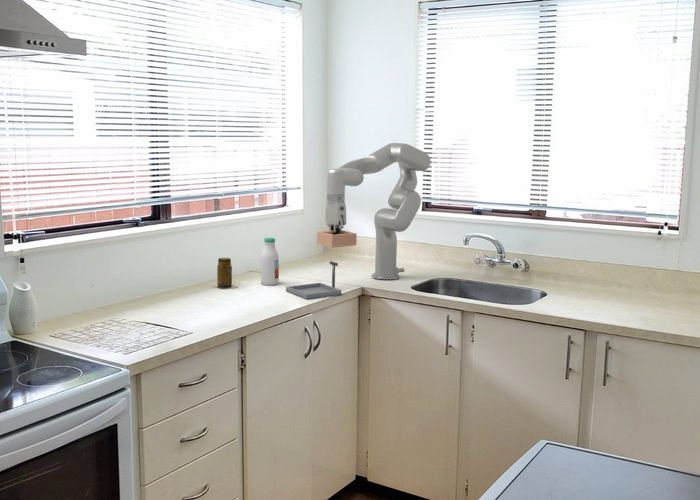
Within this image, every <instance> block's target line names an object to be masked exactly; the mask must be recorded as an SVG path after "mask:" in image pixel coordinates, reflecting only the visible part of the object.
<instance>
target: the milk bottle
mask: <svg viewBox="0 0 700 500" xmlns="http://www.w3.org/2000/svg"><path fill="white" fill-rule="evenodd" d="M263 242H264V247H263V249H262V253H261V254H260V255H261V256H260V284H261V285H263V286H276V285H278V284H279V281H280V280H279V279H280V278H279V275H280V272H279V271H280V269H279V268H280V265H279V264H280V263H279V253H278V251H277V249H276V247H275V244H276V238H275V237H265V238H264V240H263Z"/></svg>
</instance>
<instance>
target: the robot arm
mask: <svg viewBox="0 0 700 500" xmlns="http://www.w3.org/2000/svg"><path fill="white" fill-rule="evenodd" d="M395 163H398V169H399V173H400V174H399V175H400V176H399V179H398V181H397V182H396V184H395V186H394V188H393V189H392V191H391V193H390V195H389V196H388V200H387V202H388V206H389V207H390V208H388V207H385V208H384V207H383V208H380V209H378V210H377V211H376V212H375V214H374V219H373V220H374V229H375V265H374V268H375V269H374V273H372V274H371V278H372V277H373V279H374V278H377V279H376V280H379V279H387V280H386V281H392V280H391V279H395V280H398V279H400V274H399V273H405V268H404V267H401V268H400V267H397V255H398V251H397V250H398V248H397V247H398V238H397V233H396V232H398V233H402V232H405V231H406V230H408V228H409V227H410V225H411V223H412V222H413V220H414V218H415V216H416V214H417V213H418V211H419V209H420V207H421V204H422V198H421V196H420V194H419V192H418V191H415V189H416V187H417V186H418V178H417V172H425V171H426V170H428V169H429V168H430V166H431V163H432V161H431V157H430V155H429V154H428V153H427V152H425V151H423V150H421V149H419V148H417V147H414V146H412V145H411V144H407V143H402V142H401V143H399V142H391V143H388V144H386V145H385V146H383V147H381V148H379V149H377V150H375V151H373V152H372V153H370V154H368V155H364V156H362V157H359V158H356V159H353V160H351V161H347V162H346V163H345V164H343V165H341V166H339V167H338V168H329V169H328V170H327V175H326V176H327V181H326V184H327V185H326V207H325V222H326V226H328V228H329V230H328V231H334V232H333V235H338V234H340V231H341V230H342V229H344V226H346V225H347V207H346V201H345V195H346V193H345V191H346V186H349V187H357V186H360V185H361V184H362V183H363V182H364V175H369V174H372V175H373V174H375V173H379V172H382V171H383V170H384V169H386V168H387V167H389V166H391V165H392V164H395ZM388 279H390V280H388Z"/></svg>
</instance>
